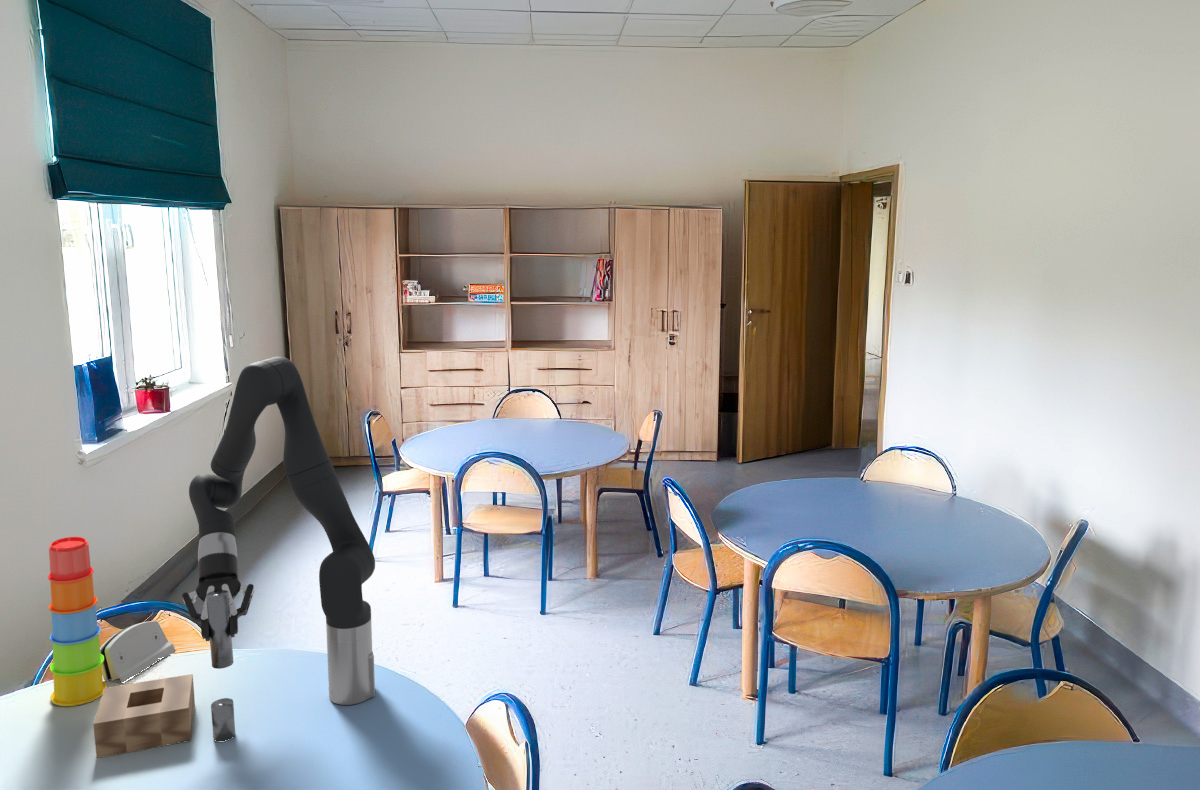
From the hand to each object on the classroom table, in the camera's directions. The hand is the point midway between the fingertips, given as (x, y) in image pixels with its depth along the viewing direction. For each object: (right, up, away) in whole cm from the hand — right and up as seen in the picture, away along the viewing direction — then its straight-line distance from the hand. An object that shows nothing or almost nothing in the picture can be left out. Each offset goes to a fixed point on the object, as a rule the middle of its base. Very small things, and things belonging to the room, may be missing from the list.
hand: (220, 637), depth 169 cm
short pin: (+2, -19, -2) cm, 19 cm away
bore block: (-14, -18, 0) cm, 23 cm away
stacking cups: (-36, -16, +12) cm, 41 cm away
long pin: (-1, -6, +3) cm, 7 cm away
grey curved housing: (-31, -14, +26) cm, 42 cm away
